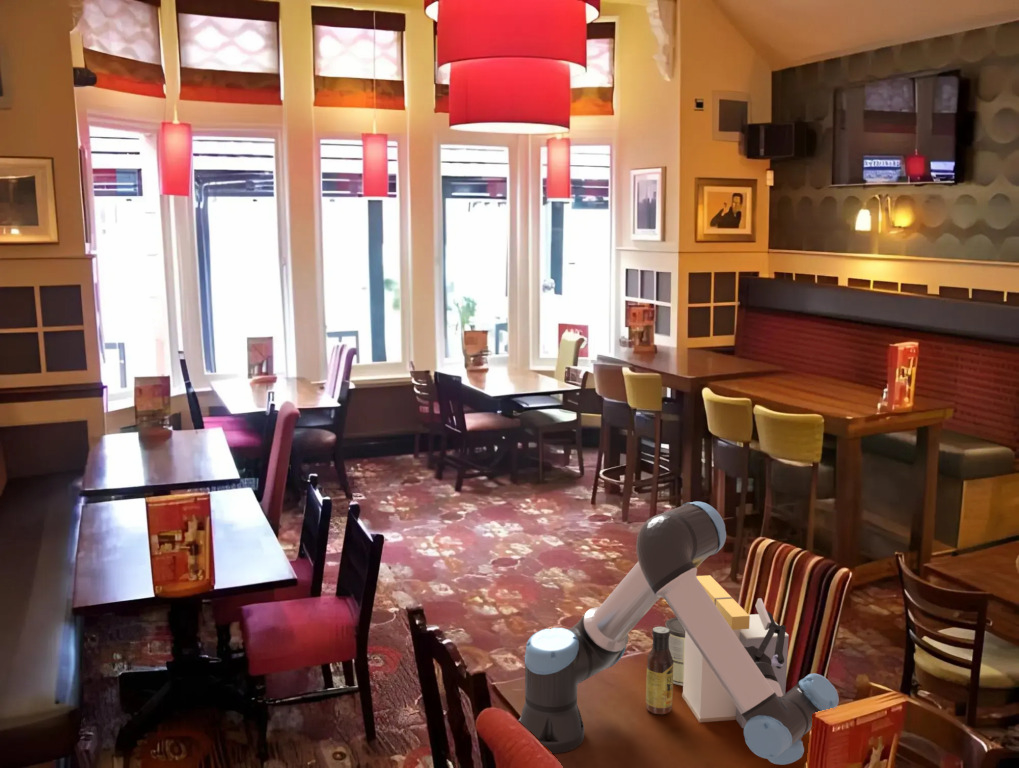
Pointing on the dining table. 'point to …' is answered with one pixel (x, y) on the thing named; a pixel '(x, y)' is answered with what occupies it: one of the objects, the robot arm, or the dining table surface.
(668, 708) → the sauce bottle
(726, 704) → the cream pillar
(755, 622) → the grey upright block
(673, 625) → the coffee can
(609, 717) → the dining table surface
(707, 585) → the yellow long bar
